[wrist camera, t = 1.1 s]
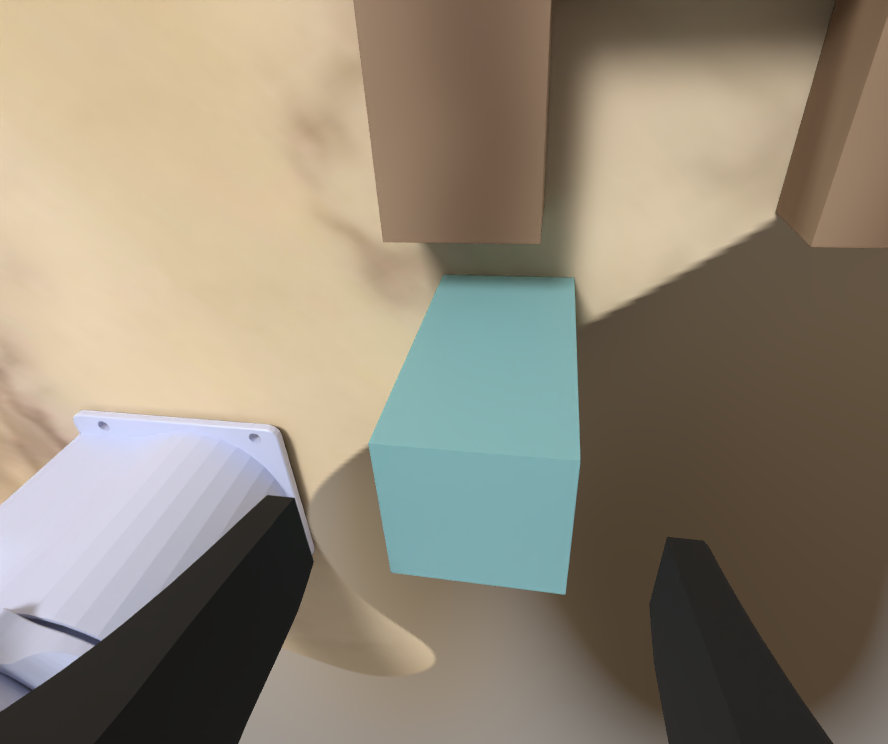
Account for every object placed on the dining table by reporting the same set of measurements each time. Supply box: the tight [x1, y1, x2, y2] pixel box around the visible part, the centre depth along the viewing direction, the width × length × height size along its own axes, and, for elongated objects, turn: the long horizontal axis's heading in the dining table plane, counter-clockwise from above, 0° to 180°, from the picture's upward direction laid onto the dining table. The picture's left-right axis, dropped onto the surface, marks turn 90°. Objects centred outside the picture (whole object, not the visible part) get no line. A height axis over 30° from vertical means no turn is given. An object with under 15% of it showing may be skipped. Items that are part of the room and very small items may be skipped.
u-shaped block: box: [354, 0, 888, 248], centre depth 11 cm, size 14×9×2 cm, turn 93°
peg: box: [368, 275, 580, 594], centre depth 15 cm, size 4×4×8 cm
